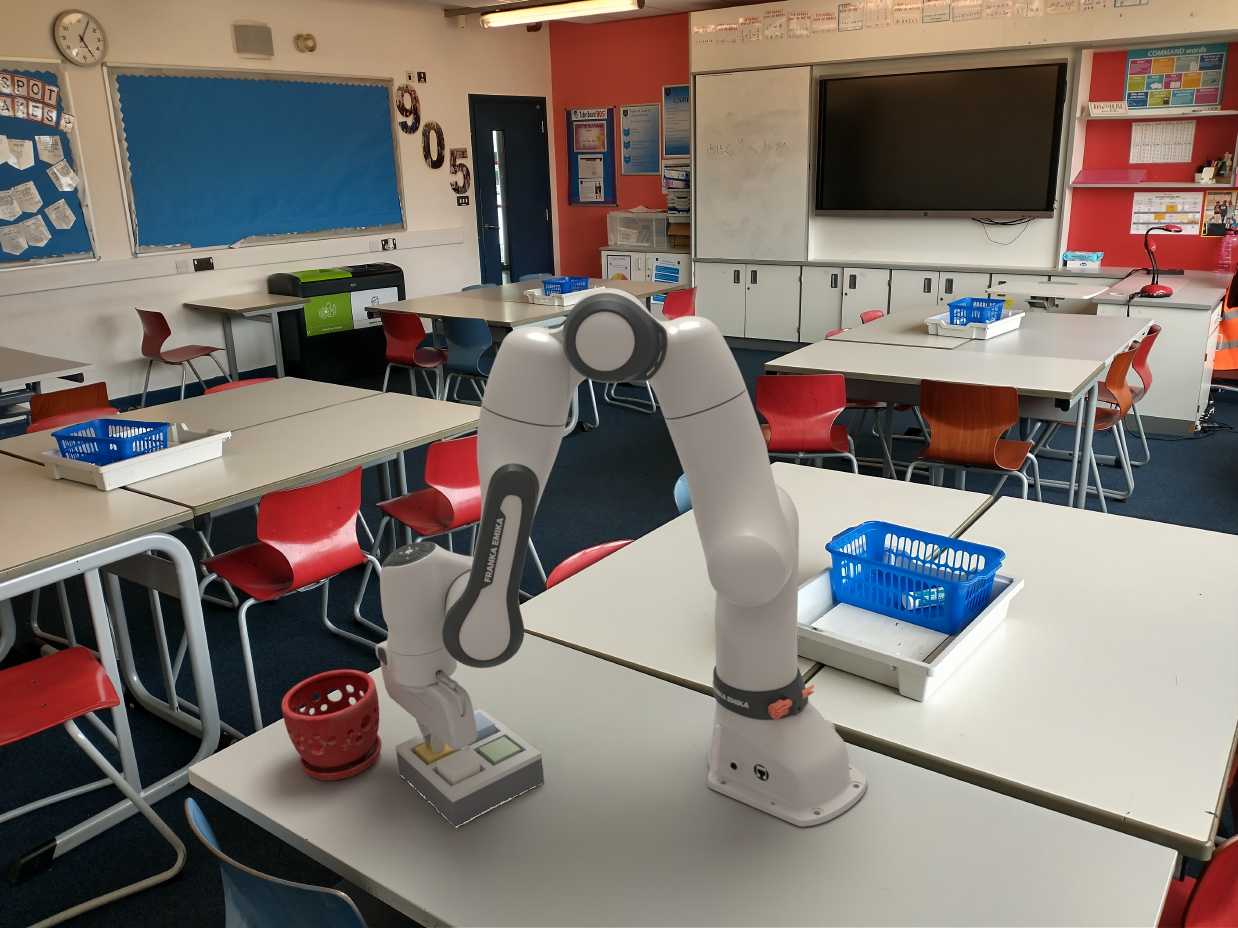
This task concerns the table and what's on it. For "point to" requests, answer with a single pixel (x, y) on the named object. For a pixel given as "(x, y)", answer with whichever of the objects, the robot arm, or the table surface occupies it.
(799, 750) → the robot arm
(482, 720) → the key blue
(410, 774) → the keypad
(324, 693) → the plant pot
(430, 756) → the key mustard
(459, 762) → the key grey
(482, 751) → the key sage
